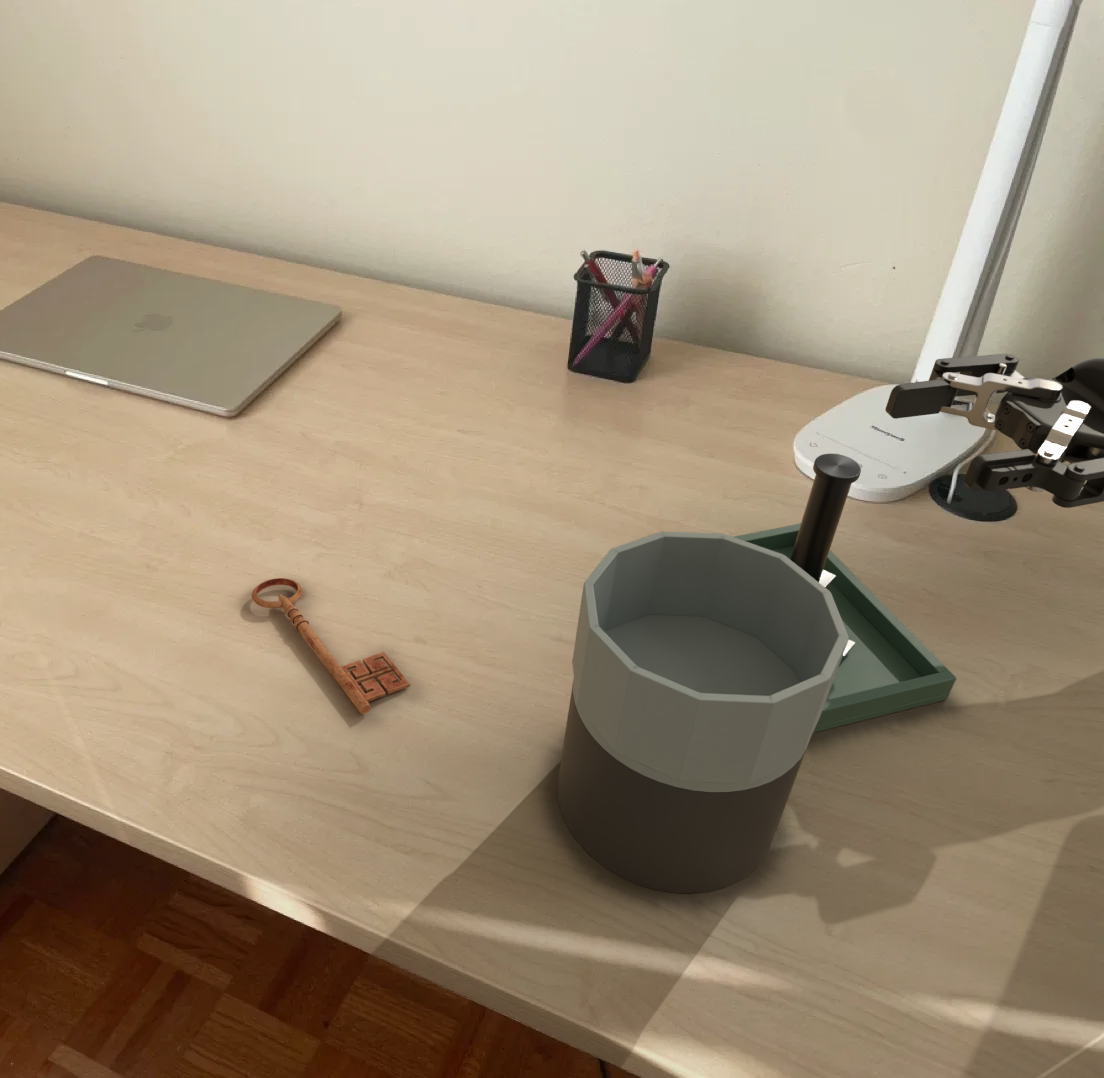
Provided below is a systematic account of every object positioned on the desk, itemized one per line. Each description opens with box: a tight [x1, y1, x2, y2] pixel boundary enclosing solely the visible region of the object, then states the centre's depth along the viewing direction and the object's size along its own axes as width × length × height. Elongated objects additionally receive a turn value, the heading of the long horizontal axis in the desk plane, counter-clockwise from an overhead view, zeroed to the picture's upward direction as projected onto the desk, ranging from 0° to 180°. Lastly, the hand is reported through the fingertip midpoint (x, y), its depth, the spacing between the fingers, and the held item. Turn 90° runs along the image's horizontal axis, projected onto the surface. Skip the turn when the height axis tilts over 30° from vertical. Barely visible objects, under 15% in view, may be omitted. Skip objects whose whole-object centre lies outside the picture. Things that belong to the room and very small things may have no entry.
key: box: [251, 577, 411, 715], centre depth 76 cm, size 6×1×15 cm
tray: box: [733, 522, 957, 734], centre depth 76 cm, size 18×14×2 cm
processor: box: [557, 531, 849, 894], centre depth 60 cm, size 13×13×16 cm
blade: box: [790, 453, 862, 658], centre depth 72 cm, size 9×9×14 cm
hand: (929, 436), depth 67 cm, fingers open, 8 cm apart
